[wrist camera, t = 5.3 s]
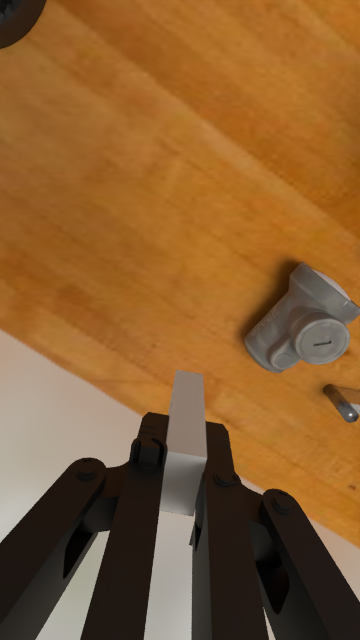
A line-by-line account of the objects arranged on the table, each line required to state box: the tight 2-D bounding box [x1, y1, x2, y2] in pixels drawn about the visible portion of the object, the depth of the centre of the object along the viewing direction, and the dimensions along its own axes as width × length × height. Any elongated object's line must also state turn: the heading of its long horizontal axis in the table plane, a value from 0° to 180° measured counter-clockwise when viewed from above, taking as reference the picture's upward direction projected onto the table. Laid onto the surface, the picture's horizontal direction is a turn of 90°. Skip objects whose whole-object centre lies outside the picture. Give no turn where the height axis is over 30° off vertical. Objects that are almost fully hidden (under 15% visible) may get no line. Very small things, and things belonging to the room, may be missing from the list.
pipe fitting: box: [244, 262, 360, 373], centre depth 35 cm, size 12×8×10 cm
